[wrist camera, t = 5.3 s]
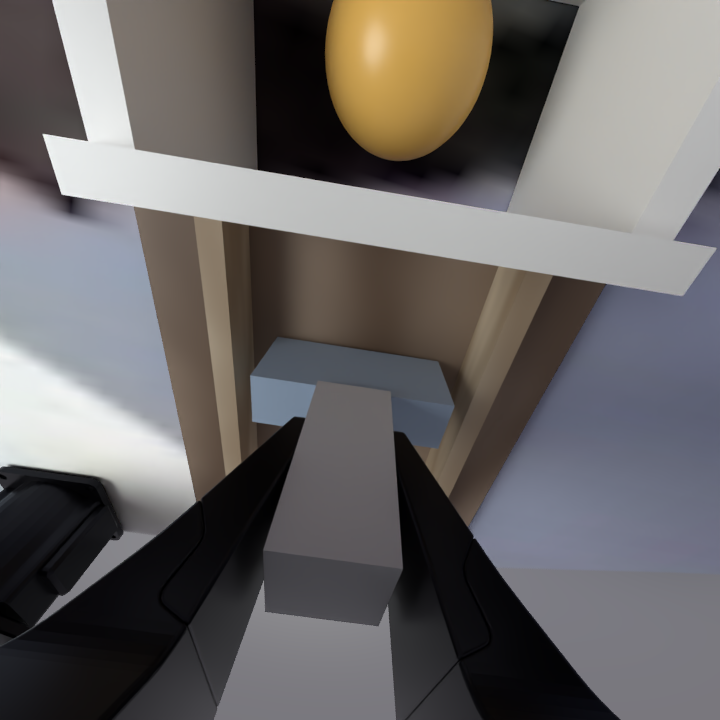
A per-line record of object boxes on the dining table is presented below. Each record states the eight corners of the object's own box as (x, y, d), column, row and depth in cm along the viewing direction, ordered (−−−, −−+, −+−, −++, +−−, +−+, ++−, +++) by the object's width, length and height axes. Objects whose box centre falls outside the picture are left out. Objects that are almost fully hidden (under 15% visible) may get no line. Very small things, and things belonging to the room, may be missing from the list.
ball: (335, 119, 10) (312, 174, 8) (342, -96, 7) (304, -105, 4) (449, 139, 10) (458, 199, 8) (512, -63, 7) (557, -55, 5)
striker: (277, 380, 13) (159, 598, 6) (277, 332, 12) (131, 533, 5) (424, 402, 13) (479, 639, 6) (439, 357, 12) (528, 585, 5)
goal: (236, 195, 11) (61, 194, 5) (219, -112, 7) (-439, -1392, 1) (518, 242, 11) (683, 295, 5) (624, -34, 8) (1489, -830, 2)
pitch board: (208, 507, 20) (183, 553, 18) (148, 180, 11) (73, 175, 8) (448, 540, 21) (458, 590, 18) (600, 255, 11) (669, 274, 8)
